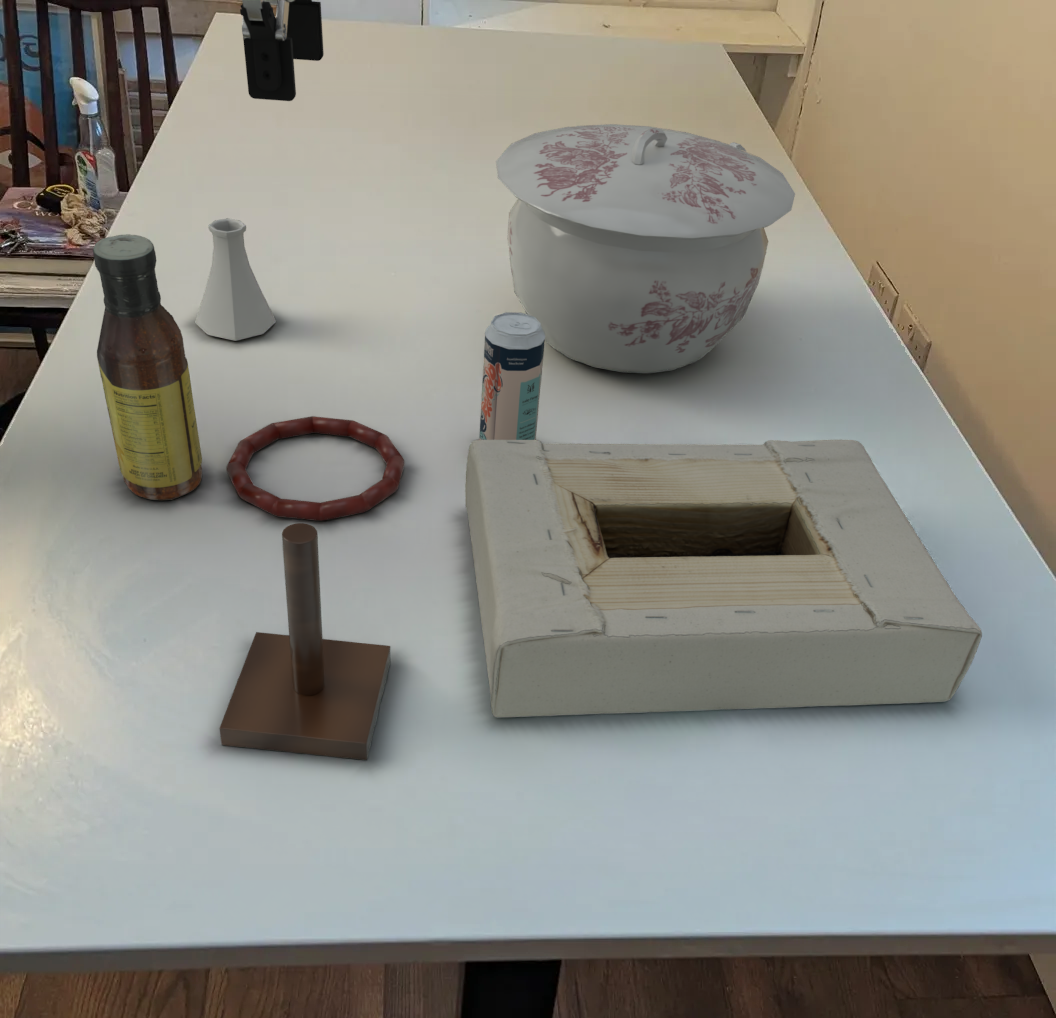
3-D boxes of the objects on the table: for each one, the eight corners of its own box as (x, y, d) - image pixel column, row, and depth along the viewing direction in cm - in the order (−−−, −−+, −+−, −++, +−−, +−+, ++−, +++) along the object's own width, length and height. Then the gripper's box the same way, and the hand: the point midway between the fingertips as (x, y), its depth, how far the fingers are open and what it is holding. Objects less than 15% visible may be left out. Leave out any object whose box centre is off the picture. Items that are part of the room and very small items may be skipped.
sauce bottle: (158, 453, 97) (123, 216, 84) (220, 476, 95) (195, 237, 82) (102, 491, 92) (57, 247, 79) (167, 516, 90) (131, 270, 77)
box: (489, 729, 75) (958, 706, 80) (495, 637, 71) (994, 618, 75) (457, 520, 93) (842, 511, 98) (460, 435, 88) (865, 430, 93)
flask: (181, 325, 114) (169, 224, 108) (236, 301, 119) (227, 203, 112) (235, 349, 111) (226, 247, 105) (289, 324, 116) (283, 225, 109)
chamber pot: (506, 413, 106) (523, 183, 92) (470, 281, 126) (479, 77, 113) (802, 408, 110) (858, 188, 97) (720, 281, 131) (757, 86, 118)
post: (221, 745, 72) (198, 572, 64) (257, 648, 79) (241, 481, 71) (366, 760, 72) (363, 590, 64) (390, 662, 79) (390, 496, 71)
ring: (209, 513, 91) (207, 498, 90) (254, 421, 101) (253, 406, 101) (387, 531, 91) (387, 516, 90) (413, 437, 101) (414, 423, 100)
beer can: (485, 433, 103) (493, 305, 95) (539, 443, 102) (551, 315, 95) (472, 462, 99) (479, 331, 91) (528, 472, 99) (539, 341, 91)
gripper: (241, -224, 82) (264, 41, 92) (167, -194, 68) (204, 112, 79) (349, -216, 81) (359, 48, 92) (296, -185, 68) (315, 120, 79)
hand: (288, 77), depth 86 cm, fingers open, 9 cm apart
